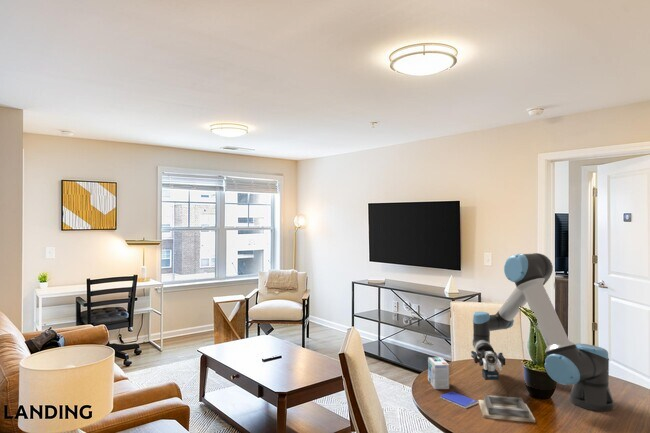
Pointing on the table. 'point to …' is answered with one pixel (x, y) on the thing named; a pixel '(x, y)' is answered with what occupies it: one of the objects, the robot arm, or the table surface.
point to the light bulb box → (438, 373)
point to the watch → (490, 367)
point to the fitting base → (505, 408)
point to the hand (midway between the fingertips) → (493, 366)
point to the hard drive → (458, 399)
